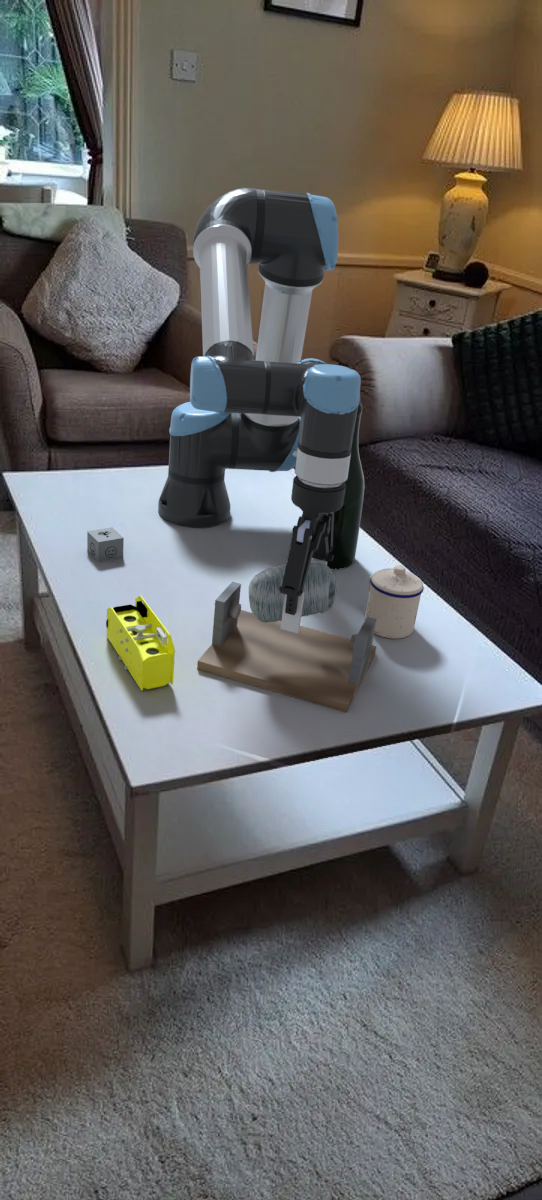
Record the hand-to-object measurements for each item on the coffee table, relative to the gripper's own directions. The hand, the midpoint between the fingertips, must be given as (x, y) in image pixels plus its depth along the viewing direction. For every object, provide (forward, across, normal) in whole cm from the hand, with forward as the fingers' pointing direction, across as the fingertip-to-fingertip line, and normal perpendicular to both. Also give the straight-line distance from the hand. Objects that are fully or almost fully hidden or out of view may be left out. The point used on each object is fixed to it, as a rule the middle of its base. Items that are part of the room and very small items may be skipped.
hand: (302, 612), depth 132 cm
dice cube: (+9, -17, -44) cm, 48 cm away
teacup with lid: (+9, -20, +10) cm, 24 cm away
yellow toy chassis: (+10, +12, -22) cm, 26 cm away
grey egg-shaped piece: (+2, -1, 0) cm, 2 cm away
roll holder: (+9, 0, -1) cm, 9 cm away
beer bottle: (+9, -39, -6) cm, 41 cm away
